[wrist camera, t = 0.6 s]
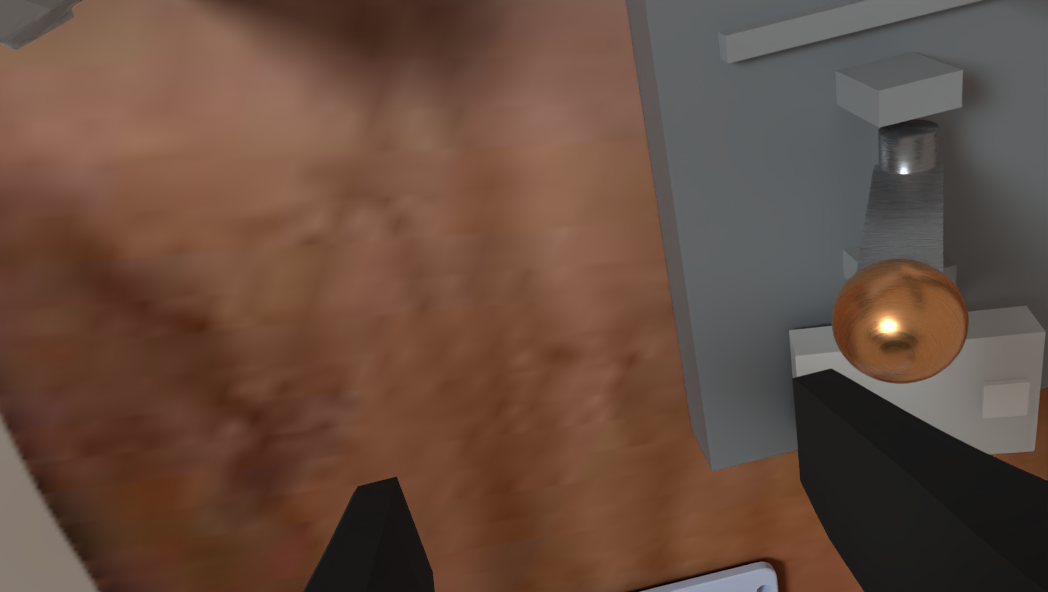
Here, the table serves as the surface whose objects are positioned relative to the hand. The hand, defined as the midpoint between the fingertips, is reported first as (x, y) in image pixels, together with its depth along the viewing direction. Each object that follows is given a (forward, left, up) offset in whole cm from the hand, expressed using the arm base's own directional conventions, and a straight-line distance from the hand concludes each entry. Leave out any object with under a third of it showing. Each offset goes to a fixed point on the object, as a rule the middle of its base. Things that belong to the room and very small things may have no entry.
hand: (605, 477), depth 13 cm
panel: (0, -9, -10) cm, 13 cm away
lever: (0, -9, -7) cm, 11 cm away
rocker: (-5, -9, -7) cm, 12 cm away
